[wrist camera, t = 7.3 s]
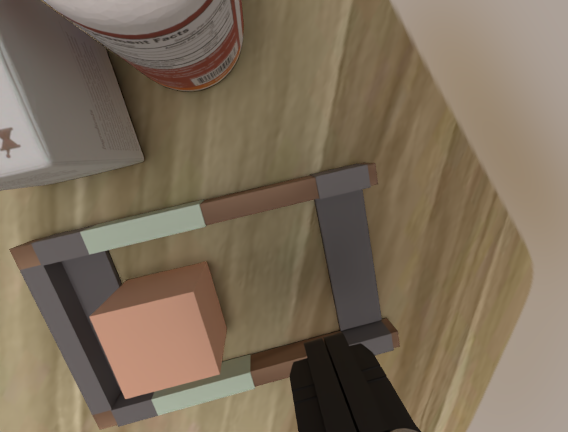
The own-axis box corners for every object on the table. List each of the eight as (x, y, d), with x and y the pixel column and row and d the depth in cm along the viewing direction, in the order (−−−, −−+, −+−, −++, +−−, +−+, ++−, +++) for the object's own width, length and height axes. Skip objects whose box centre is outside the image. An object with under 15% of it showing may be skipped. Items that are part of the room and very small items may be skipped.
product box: (108, 45, 14) (-49, -75, 7) (148, 163, 15) (55, 169, 8) (-15, 69, 13) (-322, -30, 6) (38, 187, 15) (-163, 217, 8)
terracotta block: (127, 279, 17) (89, 316, 13) (207, 260, 17) (193, 291, 13) (153, 346, 18) (125, 399, 14) (227, 327, 18) (219, 374, 14)
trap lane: (32, 239, 15) (7, 249, 14) (364, 161, 16) (375, 162, 15) (112, 408, 18) (99, 431, 17) (388, 332, 19) (400, 348, 18)
